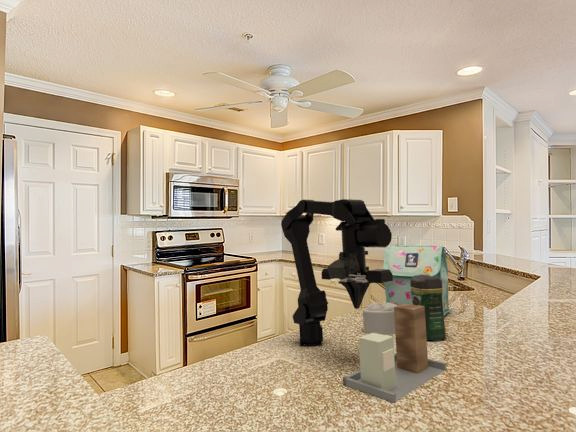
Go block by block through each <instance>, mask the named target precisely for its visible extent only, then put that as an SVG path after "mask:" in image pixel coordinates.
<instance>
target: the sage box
mask: <svg viewBox="0 0 576 432" xmlns="http://www.w3.org/2000/svg"><path fill="white" fill-rule="evenodd" d="M358 347H359V348H358V349H359V350H358V351H359V366H360V367H359V368H360V369H359V370H360V372H361V382H363V383H366V384H369V385H372V386H375V387H378V388H381V389H384V390H387V391H389V390H391V389H393V388H394V387H396V376H395V359H394V354H395V345H394V336H392V335H382V334H377V333H370V334H365V335H363V336H360V337H358Z"/></svg>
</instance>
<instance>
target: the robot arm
mask: <svg viewBox="0 0 576 432" xmlns="http://www.w3.org/2000/svg"><path fill="white" fill-rule="evenodd" d="M304 214H305V215H304ZM316 214H317V215H325V216H326V215H327V216H331V217H333V219H336V220H338V221H340V222H339V224H338V225H337V226H336V227H335V231H338V232H339V231H340V232H341V244H342V245H341V246H342V251H339V253H338V259H336V260H334V261H333V262H331V263H330V264H328V265H327V266H326V268H323V269H322V271H321V273H320V274H321V280H335V279H339V281H337V283H338V284H341V285H342V286H343V287H344V288H345V290H346V291H347V294H348V295H349V299H350V301H351V304H352V306H353V308H354V309H355V310H359V309H360V308H361V305H362V302H363V299H364V297H365V295H366V292H367V291H368V288H369V287H370V285H371V284H383V283H384V284H385V282H389V281H393V275H392V273H391V271H390V270H389V269H383V268H375V269H370V267H369V266H367V264H366V256H368V255H369V251H368V250H366V248H387V246H390V244H391V243H392V237H393V236H392V231H391V229H390V227H389V225H387V224H386V219H385V218H374V217H373V215H372V214H371V211H369V209H368V208H367V205H366V203H365V201H364V200H363V199H349V198H348V199H344V198H341V199H338V200H334V201H322V200H314V199H301V200H299V202H297V205H295V206H294V207H292V208H291V209H289V210H288V211H287V212H286V213H285V215H284V216H283V218H282V219H281V222H280V225H281V229H282V232H283V235H284V238H286V240H287V241H288V242H289V243H290V245H291V248H292V254H293V258H294V259H293V260H294V264H295V269H296V272H297V278H298V283H299V289H300V291H299V294H298V297H297V308H296V310H294V311H295V312H294V313H293V314H292V320H293V324H297V325H299V328H298V329H299V346H300V347H303V346H304V347H305V346H322V345H323V343H322V342H323V341H324V332H323V330H324V329H323V325H322V324H321V322H322V321H323V322H325V321H326V318H327V317H326V315H327V312H328V310H329V309H328V308H329V306H328V305H329V302H328V299H327V295H326V291H325V290H321V289H320V288H319V287H318V285H317V281H316V277H315V272H314V267H313V262H312V258H311V254H310V249H309V244H308V238H309V235H310V226H311V224H312V223H313V222H314V215H316Z"/></svg>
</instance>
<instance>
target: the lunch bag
mask: <svg viewBox="0 0 576 432" xmlns="http://www.w3.org/2000/svg"><path fill="white" fill-rule="evenodd" d="M382 267H383V268H382V269H389V270H390V271H391V273H392V275H393V281H389V282H384V290H385V291H384V292H385V303H387V302H388V303H392V304H396V305H398V306H399V305H402V304H411V305H412V293H411V288H410V287H411V286H410V282H411V278H412V277H413V276H415V275H428V276H433V277H438V278H439V279H441V281H442V288H443V292H442V304H443V314H444V317H445V315H446V314H447V313H451V310H450V307H449V273H448V272H449V270H448V261H447V256H446V251H445V247H444V245H418V244H416V245H399V244H395V245H391V246H390V245H388V246H387V247H386V249H385V250H384V258H383V266H382Z"/></svg>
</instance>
